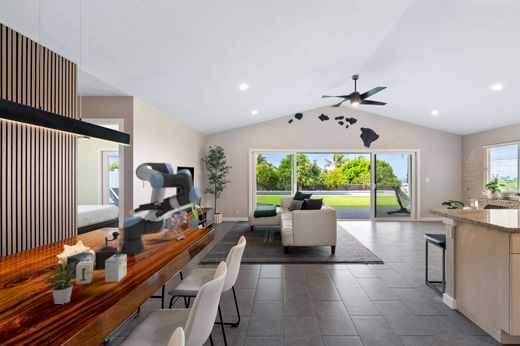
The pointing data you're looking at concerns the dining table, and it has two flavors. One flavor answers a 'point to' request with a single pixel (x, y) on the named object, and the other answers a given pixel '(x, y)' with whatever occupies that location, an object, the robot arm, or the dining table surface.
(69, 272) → the house plant
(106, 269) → the light bulb box
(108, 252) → the manual coffee grinder
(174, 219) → the flower
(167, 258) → the dining table surface
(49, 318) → the dining table surface
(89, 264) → the beige block
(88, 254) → the small box
